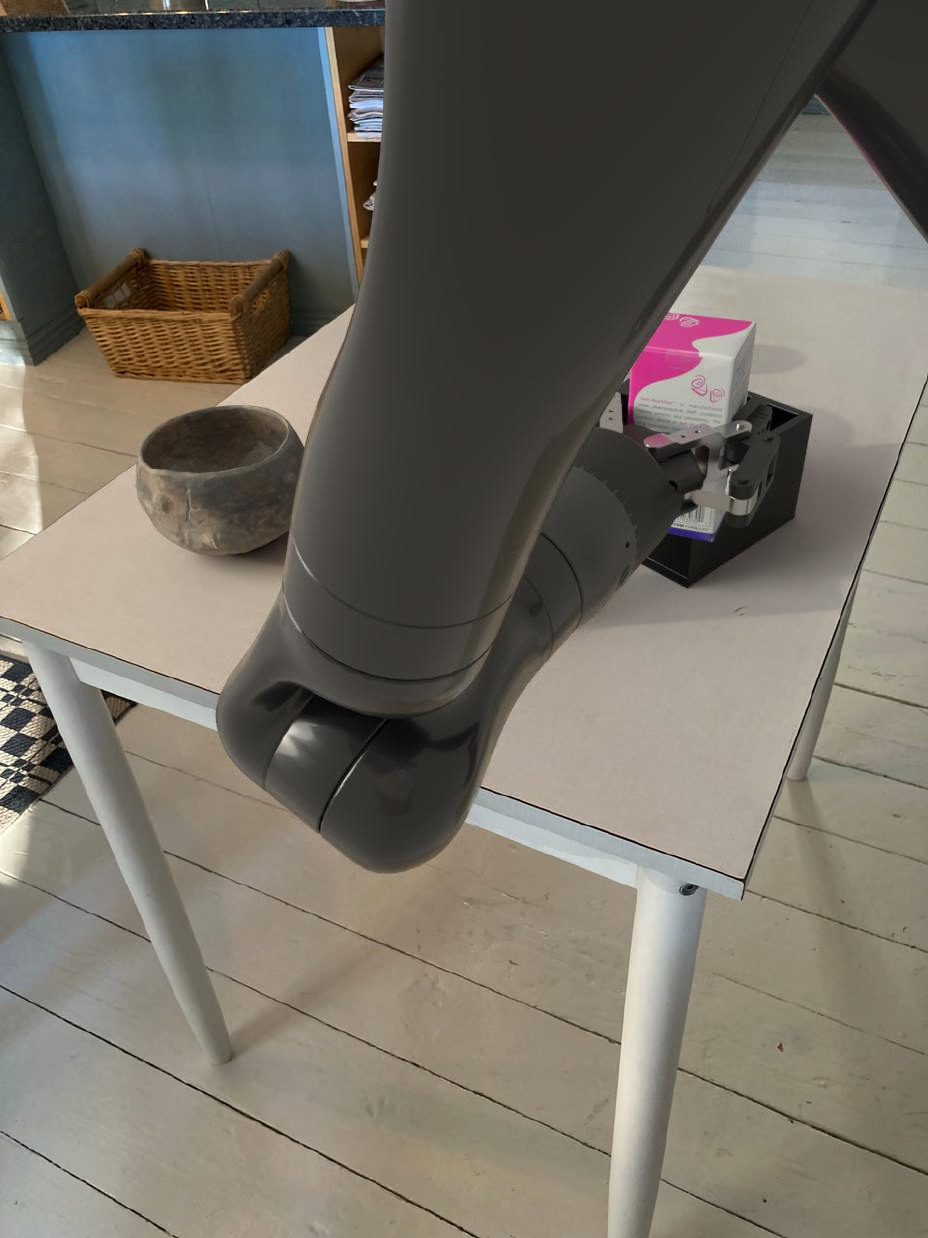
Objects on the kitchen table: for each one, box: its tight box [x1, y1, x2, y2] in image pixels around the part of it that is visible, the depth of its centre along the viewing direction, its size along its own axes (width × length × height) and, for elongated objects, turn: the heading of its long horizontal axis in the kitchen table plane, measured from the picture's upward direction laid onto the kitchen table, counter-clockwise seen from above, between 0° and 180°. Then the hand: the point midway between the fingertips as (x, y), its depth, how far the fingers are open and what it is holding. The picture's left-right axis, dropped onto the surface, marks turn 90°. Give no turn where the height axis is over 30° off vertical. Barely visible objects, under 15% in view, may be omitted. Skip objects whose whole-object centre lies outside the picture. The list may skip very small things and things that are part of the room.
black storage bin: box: [640, 390, 814, 589], centre depth 85 cm, size 15×15×10 cm
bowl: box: [134, 404, 305, 556], centre depth 87 cm, size 14×15×10 cm
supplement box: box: [627, 312, 757, 542], centre depth 58 cm, size 6×6×12 cm
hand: (702, 398), depth 59 cm, fingers closed on supplement box, 6 cm apart
